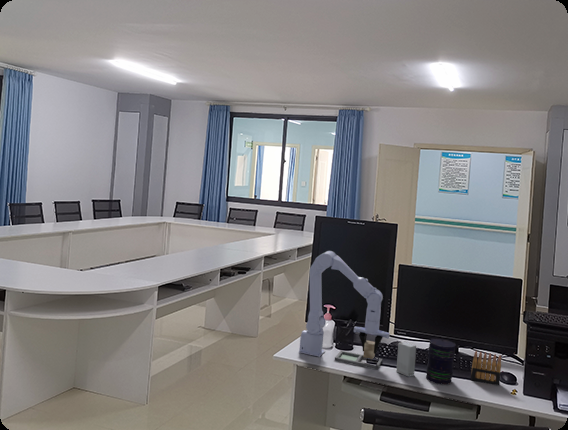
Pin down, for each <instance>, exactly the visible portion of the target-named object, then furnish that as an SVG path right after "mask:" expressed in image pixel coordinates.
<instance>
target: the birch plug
mask: <svg viewBox="0 0 568 430" xmlns="http://www.w3.org/2000/svg"><path fill="white" fill-rule="evenodd" d="M374 347H375V341H372V340H366V342H365V344H364V351H363V354H362V355H363V357H365V358H370V359H373V358H374V357H375V355H376V354H374ZM375 358H376V357H375Z"/></svg>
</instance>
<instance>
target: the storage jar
mask: <svg viewBox="0 0 568 430" xmlns="http://www.w3.org/2000/svg"><path fill="white" fill-rule="evenodd" d="M455 355H456V343H455V342H453V341H451V340H449V339H444V338H430V339H429V346H428V361H427V365H426V370H425V371H426V376H425V379H426V380H427V381H429V382H431V383H433V384H436V385H442V386H445V385H451V384H452V379H453V371H454V368H453V366H454V365H453V364H454V360H455Z"/></svg>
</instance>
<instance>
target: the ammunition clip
mask: <svg viewBox="0 0 568 430" xmlns="http://www.w3.org/2000/svg"><path fill="white" fill-rule="evenodd" d="M487 357H488V358H487ZM471 365H472V367H471V373H470V378H471V379H470V381H474V382H478V383H485V384H489V385H494V386H500V382H501V371H502V370H501V369H502V355H501V354H499V355H498V358H497V355H496V353H494V354H493V358H492V353H490V352H489V353H488V356H487V351H485V352H484V353H483V354H482V351H480V352H479V354H478V351H477V350H475V352H474V353H473V359H472V364H471Z"/></svg>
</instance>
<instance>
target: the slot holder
mask: <svg viewBox="0 0 568 430" xmlns="http://www.w3.org/2000/svg"><path fill="white" fill-rule="evenodd" d="M375 358H376V359H378V358H379V361H378V362H377V363H376V364H372V363H366V362H362V360H363V359H364V360H367V358H365V357H363V354H359V353H355V352H351V351H350V352H349V351H346V350H340V351H339V352H338V353H337V355H335V357H334V361H335V362H340V363H346V364H350V365H354V366H360V367H364V368H369V369H373V370H378V369H379V368H380V366H381V365H382V363H381V361H382V362H383V358H380V357H375Z"/></svg>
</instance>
